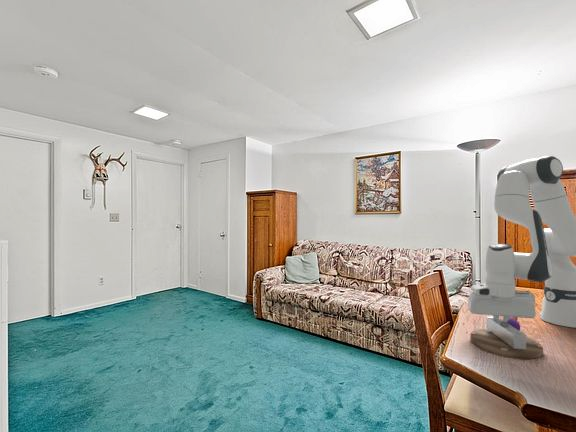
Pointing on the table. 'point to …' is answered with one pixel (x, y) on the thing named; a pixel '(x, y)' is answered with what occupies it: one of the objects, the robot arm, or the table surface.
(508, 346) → the lock plate
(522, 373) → the table surface
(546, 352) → the table surface
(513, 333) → the bar
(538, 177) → the robot arm
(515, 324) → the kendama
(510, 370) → the table surface
